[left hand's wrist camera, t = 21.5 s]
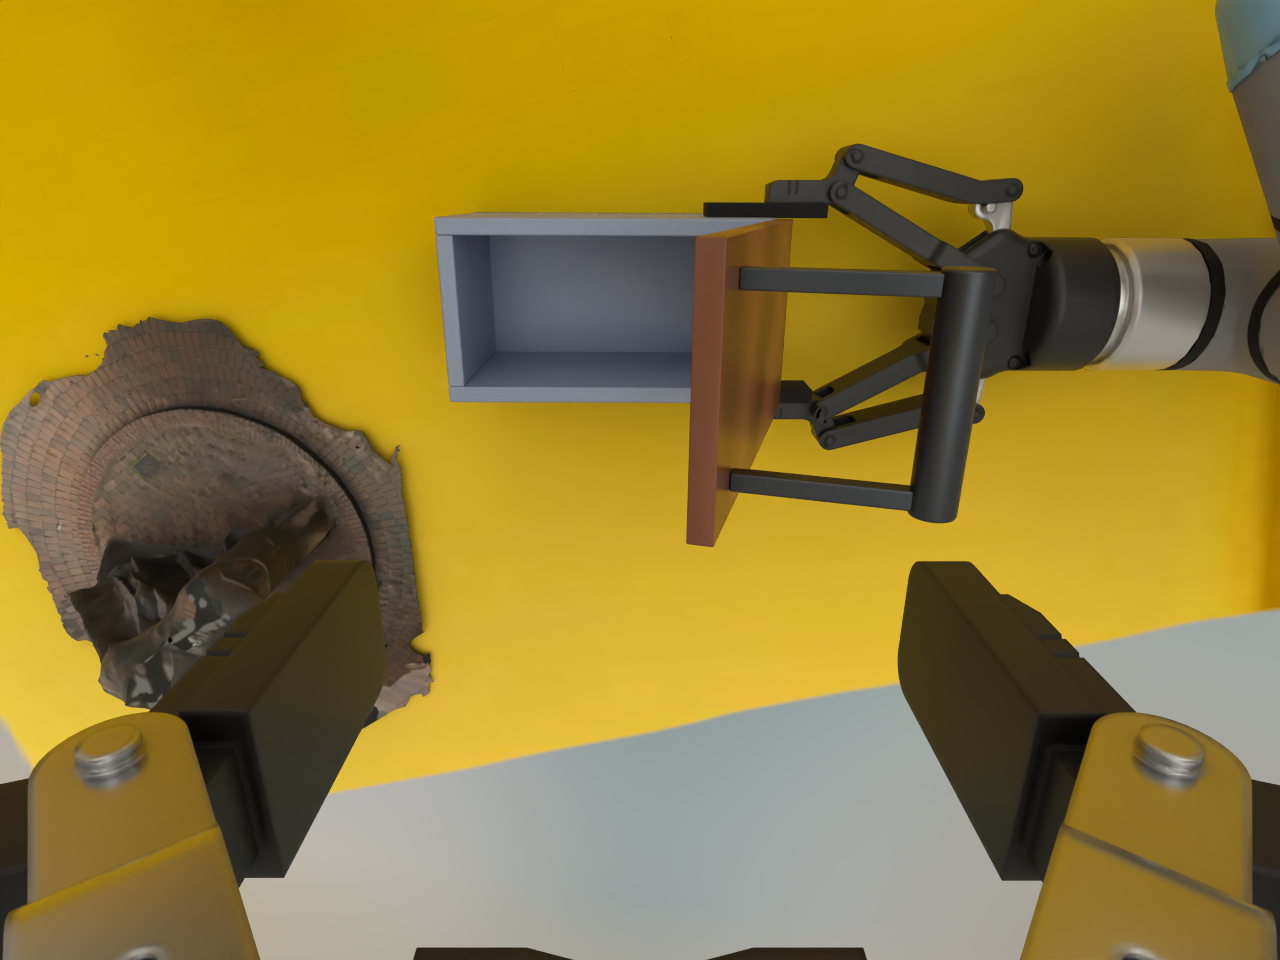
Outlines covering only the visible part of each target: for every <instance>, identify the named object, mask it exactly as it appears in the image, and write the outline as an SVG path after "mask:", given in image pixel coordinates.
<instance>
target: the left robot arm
mask: <svg viewBox="0 0 1280 960" xmlns="http://www.w3.org/2000/svg"><path fill="white" fill-rule="evenodd" d="M1061 636H1062V635H1061V634H1060V633H1059V632H1058V630H1057V629H1056V628H1055V627H1054V626H1053V625H1052V624H1051V623H1050V622H1049V621H1048V620H1047V619H1046V618H1045V617H1044V616H1043V615H1042V614H1041V613H1040V612H1038V611H1036V610H1035V609H1033V608H1031V607H1029V606H1028V605H1026V604H1024V603H1023V602H1021V601H1019V600H1017V599H1016V598H1014V597H1012V596H1010V595H1009V594H1000V593H999V592H998V591H997V590H996V589H995V588H994V587H993V586H992V585H991V584H990V582H989V581H988V580H987V579H986V578H985V577H984V576H983V575H982V574H981V573H980V571H979V570H978V569H977V568H976V567H975V566H974V565H973V564H972V563H970V562H967V561H918V562H916V563H915V564H914V565H913V566H912V568H911V571H910V574H909V579H908V586H907V593H906V600H905V607H904V614H903V621H902V628H901V635H900V642H899V649H898V674H899V680H900V685H901V688H902V691H903V694H904V696H905V698H906V700H907V702H908V704H909V706H910V708H911V710H912V711H913V713H914V715H915V717H916V719H917V721H918V723H919V725H920V727H921V728H922V730H923V732H924V734H925V736H926V738H927V740H928V742H929V744H930V746H931V747H932V749H933V751H934V753H935V755H936V757H937V759H938V761H939V763H940V764H941V766H942V768H943V770H944V772H945V774H946V776H947V778H948V780H949V781H950V783H951V785H952V787H953V789H954V791H955V793H956V795H957V797H958V798H959V800H960V802H961V804H962V806H963V808H964V810H965V812H966V813H967V815H968V817H969V819H970V821H971V823H972V825H973V827H974V829H975V831H976V832H977V834H978V836H979V838H980V840H981V842H982V844H983V846H984V847H985V849H986V851H987V853H988V855H989V857H990V859H991V861H992V863H993V865H994V866H995V868H996V870H997V872H998V874H999V876H1000V878H1001V880H1003V881H1042V882H1043V885H1042V888H1041V892H1040V895H1039V898H1038V901H1037V905H1036V908H1035V911H1034V914H1033V918H1032V921H1031V924H1030V928H1029V931H1028V934H1027V938H1026V941H1025V944H1024V948H1023V951H1022V954H1021V957H1020V960H1280V785H1275V784H1271V783H1265V782H1261V781H1256V780H1252V779H1251V777H1250V775H1249V773H1248V771H1247V769H1246V767H1245V766H1244V765H1243V763H1242V762H1241V761H1240V760H1239V759H1238V758H1237V757H1236V756H1235V755H1234V754H1233V753H1232V752H1231V751H1229V750H1228V749H1227V748H1226V747H1224V746H1223V745H1222V744H1220V743H1219V742H1217V741H1216V740H1214V739H1213V738H1211V737H1209V736H1207V735H1205V734H1204V733H1202V732H1200V731H1198V730H1196V729H1194V728H1191V727H1189V726H1187V725H1184V724H1182V723H1179V722H1176V721H1174V720H1170V719H1167V718H1163V717H1159V716H1155V715H1150V714H1144V713H1136V711H1134V709H1133V708H1132V707H1131V706H1130V705H1129V704H1128V703H1127V702H1126V701H1125V700H1124V699H1123V698H1122V697H1121V696H1120V695H1119V694H1118V693H1117V692H1116V691H1115V690H1114V689H1113V688H1112V687H1111V686H1110V685H1109V683H1108V682H1107V681H1106V680H1105V679H1104V678H1103V677H1102V676H1101V675H1100V674H1099V673H1098V672H1097V671H1096V670H1095V669H1094V668H1093V667H1092V666H1091V665H1090V664H1089V663H1088V662H1087V661H1086V660H1085V659H1084V658H1080V657H1079V652H1078V651H1077V650H1076V649H1075V648H1074V647H1073V646H1072V645H1071V644H1070V643H1069V642H1068V641H1067V640H1066V639H1062V637H1061ZM385 671H386V649H385V641H384V634H383V627H382V620H381V613H380V606H379V598H378V591H377V584H376V577H375V573H374V569H373V567H372V565H371V563H370V562H369V561H367V560H316V561H314V562H312V563H311V564H310V565H309V566H308V568H307V569H306V570H305V571H304V572H303V573H302V574H301V575H300V576H299V578H298V579H297V580H296V581H295V582H294V583H293V584H292V585H291V586H290V588H289V589H288V590H287V591H286V592H285V593H275V594H274V595H272V596H270V597H269V598H267V599H265V600H263V601H262V602H260V603H258V604H256V605H255V606H253V607H251V608H250V609H248V610H246V611H244V612H243V613H242V614H241V616H240V617H239V618H238V619H237V620H236V621H235V622H234V623H233V624H232V625H231V626H230V627H229V628H228V629H227V630H226V631H225V632H224V637H223V638H219V639H218V640H217V641H216V642H215V643H214V644H213V645H212V646H211V647H210V648H209V649H208V650H207V651H206V656H201V657H200V659H199V660H198V661H197V662H196V663H195V664H194V665H193V666H192V667H191V668H190V669H189V670H188V671H187V672H186V673H185V674H184V675H183V676H182V677H181V678H180V679H179V681H178V682H177V683H176V684H175V685H174V686H173V687H172V688H171V689H170V690H169V691H168V692H167V693H166V694H165V695H164V696H163V697H162V698H161V699H160V700H159V701H158V703H157V704H156V705H155V706H154V707H153V708H152V709H151V710H150V711H149V712H144V713H136V714H130V715H125V716H120V717H117V718H113V719H110V720H106V721H104V722H101V723H98V724H96V725H93V726H91V727H89V728H86V729H84V730H82V731H80V732H78V733H76V734H75V735H73V736H71V737H69V738H67V739H66V740H64V741H63V742H61V743H60V744H58V745H57V746H56V747H54V748H53V749H52V750H51V751H49V752H48V753H47V754H46V755H45V756H44V757H43V758H42V759H41V760H40V761H39V762H38V763H37V765H36V766H35V767H34V769H33V771H32V773H31V775H30V777H29V778H28V779H23V780H19V781H14V782H9V783H4V784H0V960H260V957H259V954H258V951H257V948H256V944H255V941H254V938H253V934H252V931H251V928H250V924H249V921H248V918H247V915H246V911H245V908H244V905H243V901H242V898H241V895H240V891H239V887H240V885H241V883H242V882H243V880H244V878H284V877H285V875H286V873H287V871H288V869H289V867H290V865H291V863H292V861H293V859H294V857H295V856H296V854H297V852H298V850H299V848H300V846H301V844H302V842H303V840H304V838H305V836H306V835H307V833H308V831H309V829H310V827H311V825H312V823H313V821H314V819H315V817H316V815H317V813H318V812H319V810H320V808H321V806H322V804H323V802H324V800H325V798H326V796H327V794H328V792H329V791H330V789H331V787H332V785H333V783H334V781H335V779H336V777H337V775H338V773H339V771H340V769H341V768H342V766H343V764H344V762H345V760H346V758H347V756H348V754H349V752H350V750H351V748H352V747H353V745H354V743H355V741H356V739H357V737H358V735H359V733H360V731H361V729H362V727H363V726H364V724H365V722H366V720H367V718H368V716H369V714H370V712H371V710H372V708H373V706H374V704H375V703H376V701H377V699H378V697H379V695H380V693H381V690H382V687H383V683H384V678H385ZM413 960H572V959H568V958H564V957H560V956H556V955H552V954H549V953H545V952H541V951H537V950H534V949H530V948H417V949H416V952H415V956H414V959H413ZM708 960H867V959H866V955H865V952H864V949H863V948H750V949H747V950H743V951H739V952H735V953H731V954H727V955H724V956H720V957H716V958H712V959H708Z"/></svg>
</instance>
